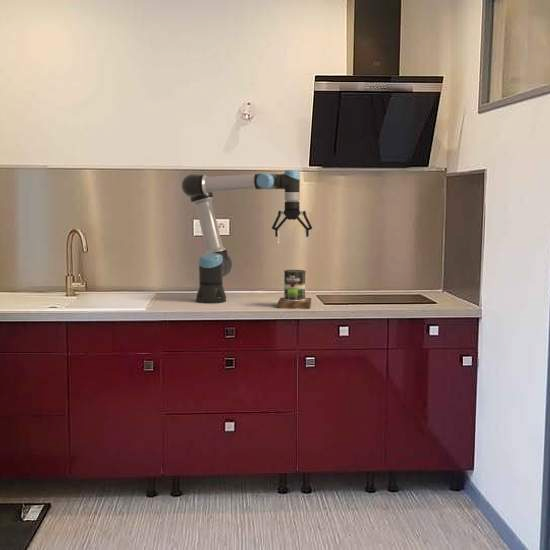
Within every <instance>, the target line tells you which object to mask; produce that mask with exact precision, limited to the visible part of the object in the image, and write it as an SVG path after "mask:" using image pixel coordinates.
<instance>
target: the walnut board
mask: <svg viewBox="0 0 550 550" xmlns="http://www.w3.org/2000/svg"><path fill="white" fill-rule="evenodd" d="M310 306H312V297H305V301H286V300H284V297H282V296H281V297H280V298H279V300H278V301H277V309H295V308H300V310H301V309H303V310H305V309H306V310H309V309H311V307H310Z"/></svg>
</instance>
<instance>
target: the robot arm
mask: <svg viewBox="0 0 550 550" xmlns="http://www.w3.org/2000/svg"><path fill="white" fill-rule="evenodd" d="M300 178H301V177H300V171H299V170H297V169H285V170H284V173H281V174H280V173H268V172H263V173H257V174H256V173H253V174H235V175H234V174H233V175H232V174H231V175H219V176H218V175H216V176H207V175H206V174H202V173H201V174H197V173H196V174H195V173H192V174H188V175H186V176H185V177H184V178H183V179H182V181H181V190H182V192H183V193H184V195H186V196H187V197H189V199H190V202H191V204H193V205H194V206H195V210H196V213H197V217H198V221H199V225H200V229H201V230H200V231H201V232H202V236H203V241H204V245H205V249H206V251H205V253H204V254H201V255H200V256H199V258H198V278H199V280H198V281H199V283H198V284H199V286H198V290H197V292H196V296H195V301H196V303H201V302H204V303H205V304H218V303H224V302H225V303H226V302H227V294H226V292H225V289H224V286H223V284H224V282H223V278H224V277H226V276H228V275H229V274H230V273H231V272H232V269H233V267H234V266H233V265H234V264H233V263H234V262H233V260H232V258H231V256H230V255H229V254H228V253H229V252H228V250H227V248H225V247H224V246H223V242H222V238H221V235H220V231H219V230H220V229H219V226H218V222H217V218H216V214H215V210H214V209H215V208H214V206H213V199H214V194H213V193H217V192H218V193H219V192H221V193H222V192H237V191H239V192H240V191H253V190H284V210H283V211H282V210H278V212H277V216H276V218H275V219H274V221H273V224H272V226H271V230H274V231H275V233H274V234H275V236H274V237H276V238H277V244H280V228H281V227H282V225H284V223H285V222H286V221H287V220H288V221H289V220H293V221H295V220H297V221H298V222H299V223H300V225H301V226H302V227H303V229H304V244H305V245H306V244H307V238H308V237H310V236H309V235H310V234H309V232H310V230H312V229H313V226H312V225H311V222H310V220H309V218H308V217H307V212H306V210H302V211H301V210H300V200H301V199H300V194H301V193H300V190H301V188H300V185H301V184H300V180H301V179H300ZM283 215H284V218H283V219H282V220H281V221H280V222H279V220H280V217H281V216H283ZM300 215H301V216H303V218H304V220H305V222H306V224H307V225H306V224H305V222H304V221H303V220H302V219H301V218H300V217H299V216H300ZM278 223H279V224H278ZM277 224H278V225H277ZM204 303H203V304H204Z"/></svg>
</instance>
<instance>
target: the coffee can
mask: <svg viewBox="0 0 550 550" xmlns="http://www.w3.org/2000/svg"><path fill="white" fill-rule="evenodd" d="M306 272H307V270H304V269H285V270H284V271H283V273H284V276H283V277H284V290H283V291H284V292H283V294H284V295H283V296H284V300H286V301H305V298H306Z"/></svg>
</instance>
